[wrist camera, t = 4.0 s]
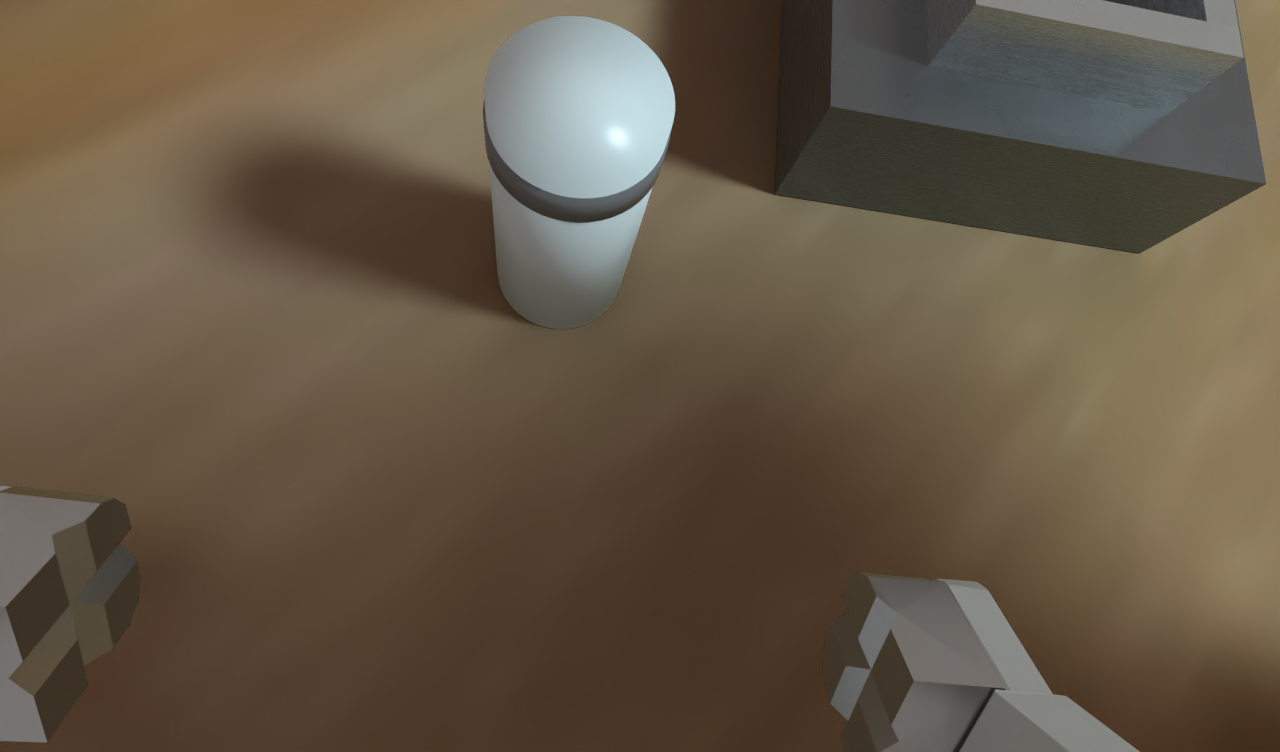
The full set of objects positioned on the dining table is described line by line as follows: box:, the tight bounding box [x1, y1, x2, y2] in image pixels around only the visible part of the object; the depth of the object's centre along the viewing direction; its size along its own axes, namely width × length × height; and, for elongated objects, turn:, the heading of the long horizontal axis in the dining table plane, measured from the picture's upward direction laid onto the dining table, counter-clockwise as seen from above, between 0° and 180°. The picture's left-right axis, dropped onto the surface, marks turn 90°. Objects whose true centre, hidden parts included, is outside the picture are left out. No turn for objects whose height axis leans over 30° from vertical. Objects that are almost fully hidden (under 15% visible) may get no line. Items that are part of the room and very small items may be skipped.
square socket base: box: [775, 0, 1266, 253], centre depth 25 cm, size 14×12×8 cm
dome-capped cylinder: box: [483, 16, 675, 329], centre depth 20 cm, size 4×4×9 cm
